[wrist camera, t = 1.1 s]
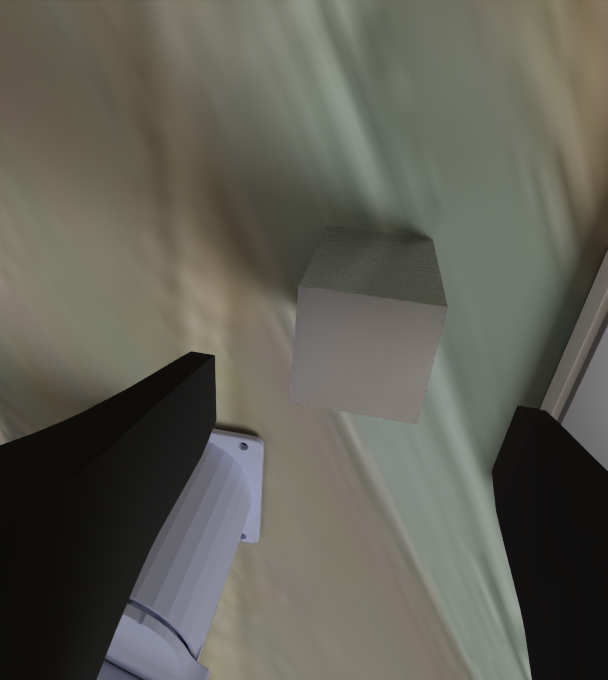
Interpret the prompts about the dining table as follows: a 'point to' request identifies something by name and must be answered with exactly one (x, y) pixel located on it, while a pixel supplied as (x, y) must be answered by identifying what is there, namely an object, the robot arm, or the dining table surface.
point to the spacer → (368, 324)
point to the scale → (585, 375)
